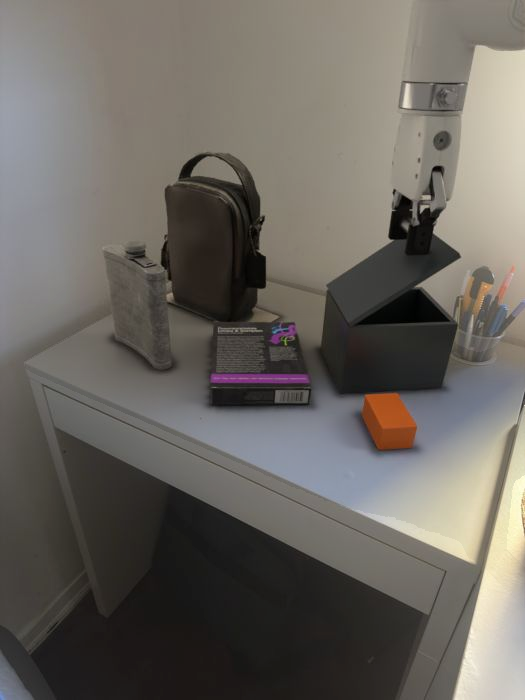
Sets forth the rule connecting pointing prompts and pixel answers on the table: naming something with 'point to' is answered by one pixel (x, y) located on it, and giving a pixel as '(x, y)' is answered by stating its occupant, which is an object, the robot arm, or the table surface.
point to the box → (258, 364)
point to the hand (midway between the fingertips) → (407, 245)
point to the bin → (389, 345)
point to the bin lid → (387, 276)
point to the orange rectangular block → (388, 421)
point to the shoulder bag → (215, 244)
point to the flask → (138, 301)
